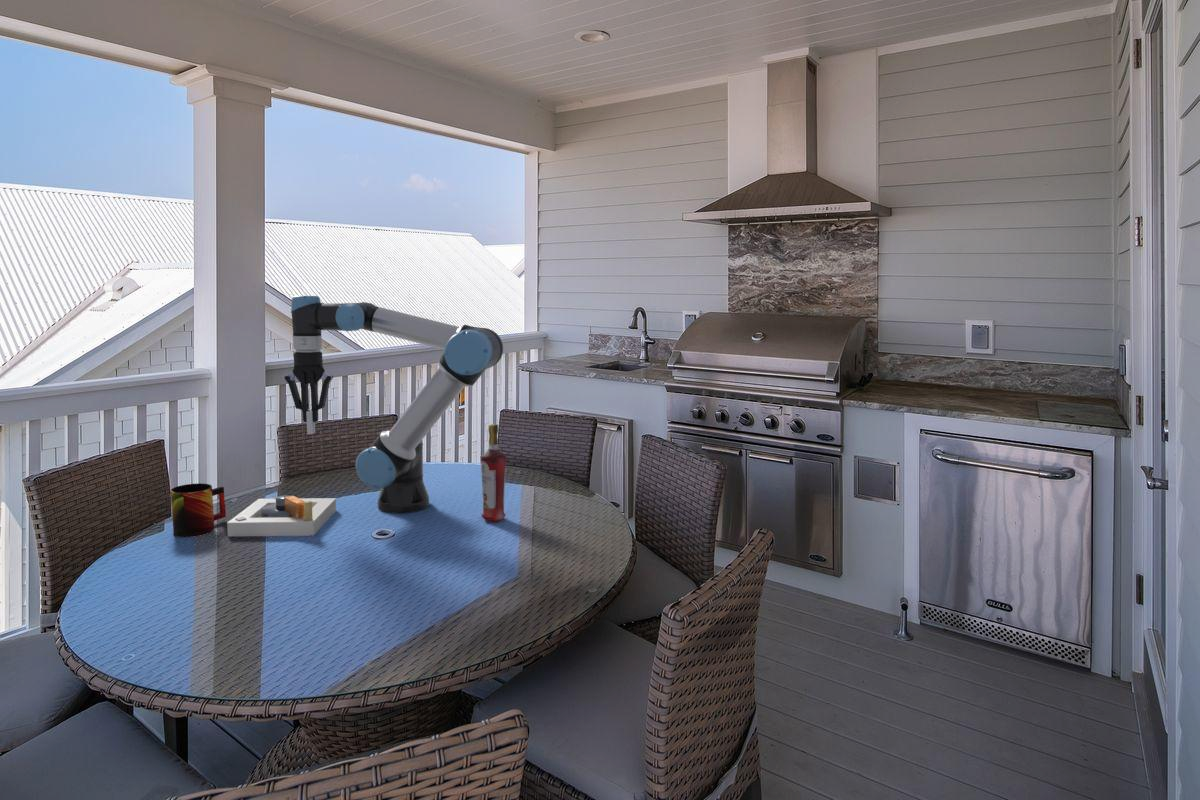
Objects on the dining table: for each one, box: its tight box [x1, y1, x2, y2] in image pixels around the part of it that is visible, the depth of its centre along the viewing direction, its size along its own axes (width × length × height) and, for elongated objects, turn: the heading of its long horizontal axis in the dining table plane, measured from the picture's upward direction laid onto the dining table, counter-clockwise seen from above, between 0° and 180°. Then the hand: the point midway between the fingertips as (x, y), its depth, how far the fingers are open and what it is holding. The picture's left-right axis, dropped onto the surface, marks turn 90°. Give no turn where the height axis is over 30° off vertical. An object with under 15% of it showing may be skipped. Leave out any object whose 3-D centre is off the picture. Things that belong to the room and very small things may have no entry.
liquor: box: [480, 423, 507, 523], centre depth 205 cm, size 7×7×28 cm
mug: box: [170, 483, 227, 538], centre depth 194 cm, size 10×14×12 cm
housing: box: [226, 497, 337, 537], centre depth 201 cm, size 22×22×9 cm
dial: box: [261, 495, 305, 518], centre depth 199 cm, size 17×12×6 cm
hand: (311, 433), depth 205 cm, fingers closed
